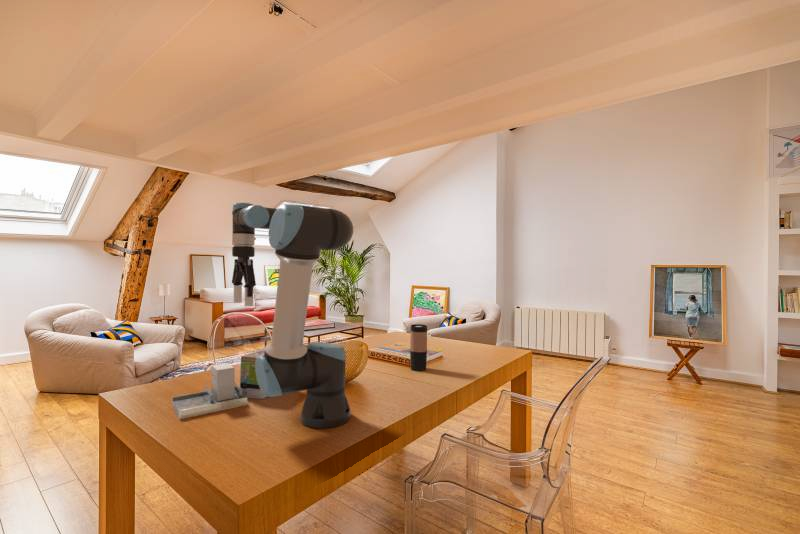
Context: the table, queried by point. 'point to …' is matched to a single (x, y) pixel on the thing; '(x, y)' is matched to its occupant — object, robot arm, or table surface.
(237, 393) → the grey shallow tray
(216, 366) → the small box
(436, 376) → the table surface
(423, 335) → the travel mug
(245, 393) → the tea box
